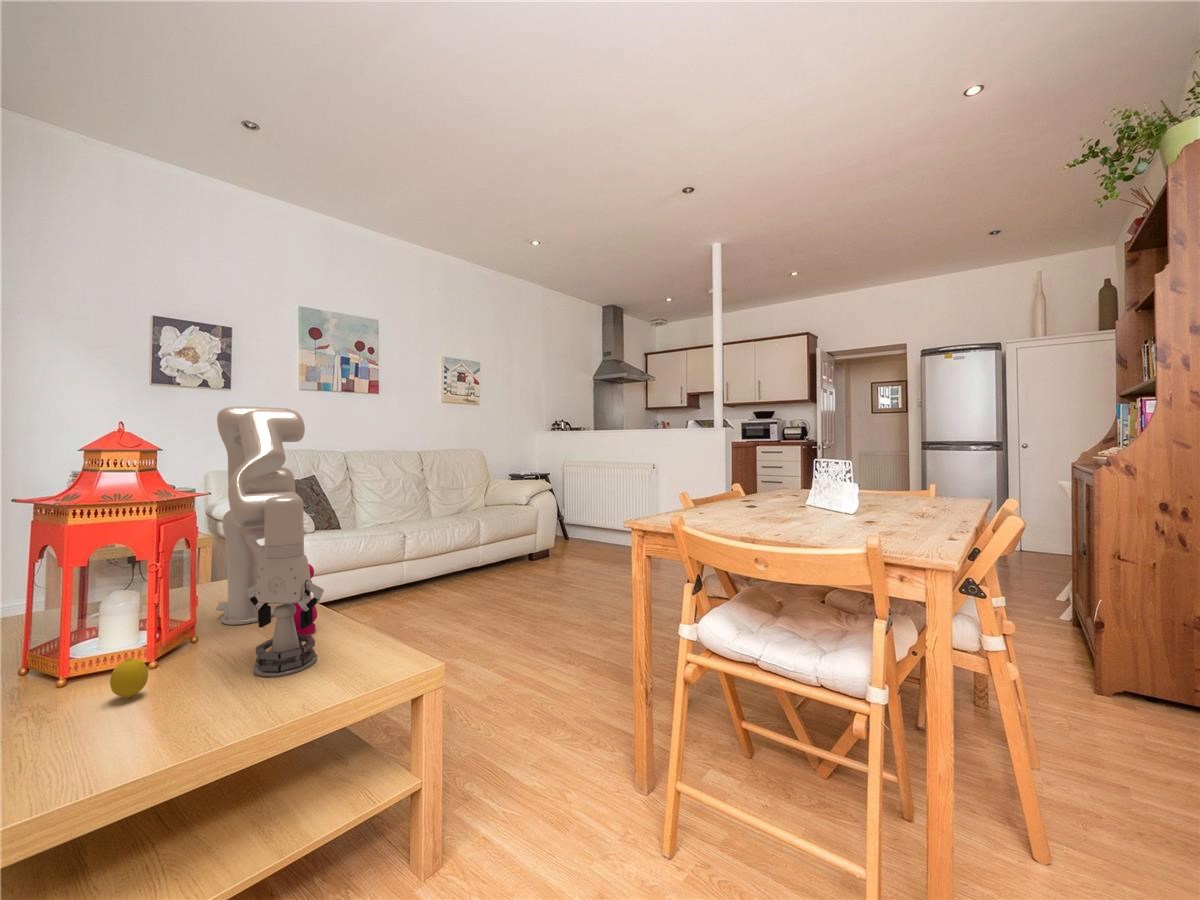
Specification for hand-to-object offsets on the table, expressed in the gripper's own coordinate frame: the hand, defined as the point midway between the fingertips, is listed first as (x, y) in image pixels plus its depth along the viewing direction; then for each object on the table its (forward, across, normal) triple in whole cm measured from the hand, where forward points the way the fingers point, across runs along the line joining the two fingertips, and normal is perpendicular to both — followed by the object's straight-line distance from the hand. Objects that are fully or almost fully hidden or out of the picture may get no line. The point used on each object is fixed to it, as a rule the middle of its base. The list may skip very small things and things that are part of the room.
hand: (285, 625), depth 116 cm
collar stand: (+9, 0, 0) cm, 9 cm away
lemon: (+9, -21, -16) cm, 28 cm away
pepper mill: (+9, -8, +18) cm, 22 cm away
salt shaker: (+8, 0, 0) cm, 9 cm away
